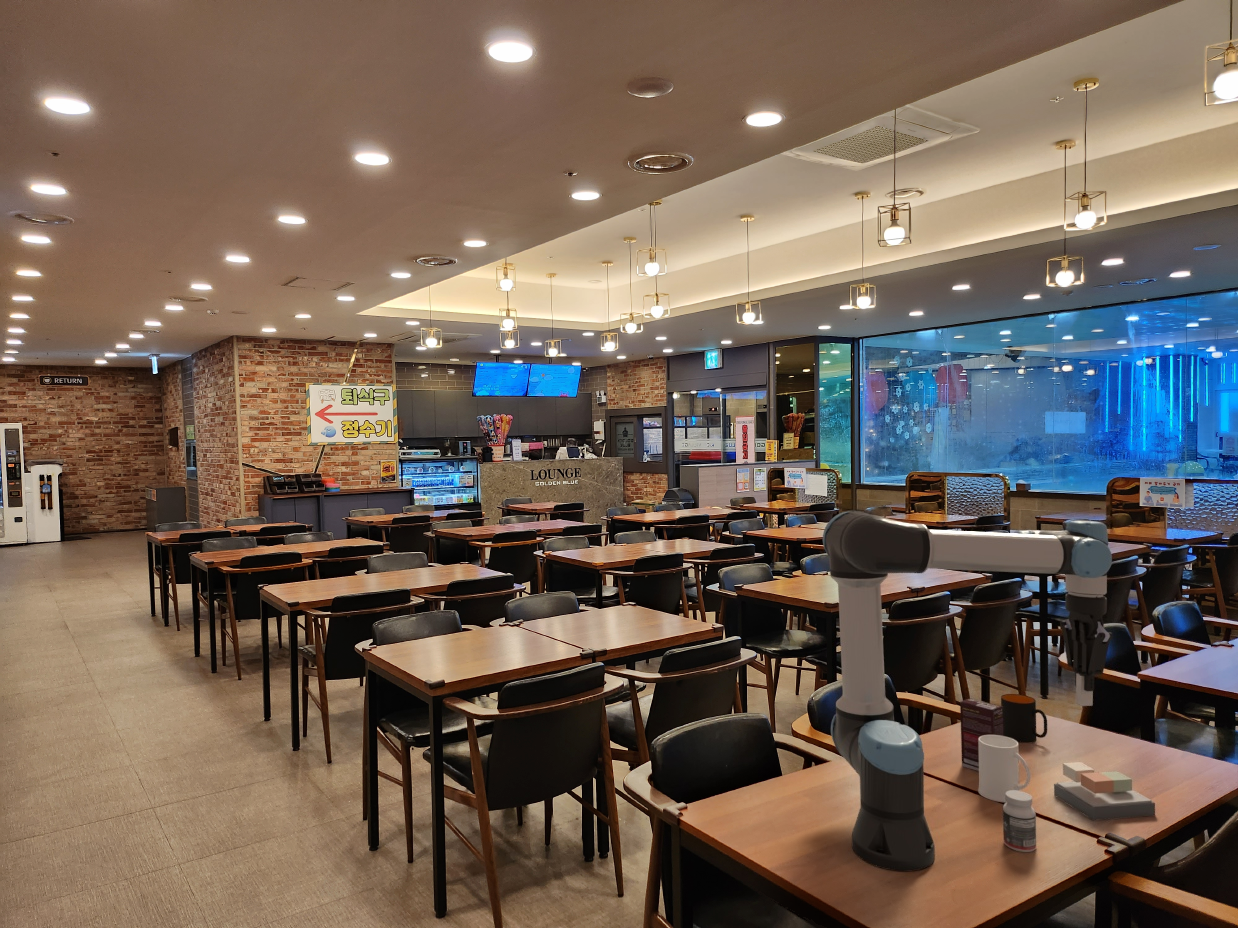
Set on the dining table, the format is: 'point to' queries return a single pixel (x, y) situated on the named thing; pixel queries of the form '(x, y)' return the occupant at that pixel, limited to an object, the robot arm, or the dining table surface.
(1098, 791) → the terracotta key
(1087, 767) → the cream key
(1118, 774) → the sage key
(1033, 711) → the mug
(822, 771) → the dining table surface
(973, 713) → the supplement box
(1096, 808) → the keypad
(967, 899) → the dining table surface
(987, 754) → the mug
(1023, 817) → the pill bottle
